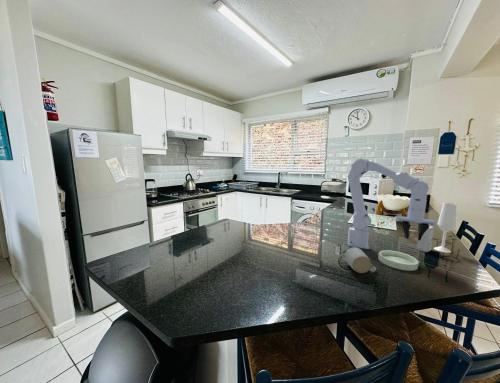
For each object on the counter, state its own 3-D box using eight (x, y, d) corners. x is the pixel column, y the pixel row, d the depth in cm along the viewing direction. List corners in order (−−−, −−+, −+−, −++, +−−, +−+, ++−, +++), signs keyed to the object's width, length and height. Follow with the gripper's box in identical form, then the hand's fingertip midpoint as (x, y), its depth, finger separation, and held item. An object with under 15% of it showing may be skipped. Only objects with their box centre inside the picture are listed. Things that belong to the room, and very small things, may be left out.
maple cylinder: (408, 242, 94) (409, 231, 93) (405, 239, 98) (406, 229, 97) (419, 244, 93) (420, 233, 92) (415, 241, 96) (417, 230, 96)
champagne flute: (454, 253, 104) (462, 205, 101) (437, 251, 106) (445, 203, 103) (446, 248, 110) (454, 203, 107) (431, 246, 113) (438, 201, 109)
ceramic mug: (352, 274, 80) (354, 254, 79) (343, 263, 89) (345, 246, 88) (380, 276, 80) (383, 256, 79) (369, 265, 88) (371, 248, 87)
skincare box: (426, 252, 104) (430, 228, 103) (415, 249, 108) (419, 226, 106) (431, 250, 108) (435, 226, 106) (420, 247, 111) (424, 224, 110)
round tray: (381, 266, 88) (382, 260, 87) (375, 253, 101) (376, 248, 100) (423, 273, 83) (424, 267, 82) (411, 259, 96) (411, 253, 95)
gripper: (399, 208, 92) (395, 238, 94) (441, 212, 87) (436, 244, 89) (395, 205, 98) (391, 234, 100) (434, 209, 93) (429, 239, 95)
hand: (412, 238), depth 95 cm, fingers closed on maple cylinder, 4 cm apart
